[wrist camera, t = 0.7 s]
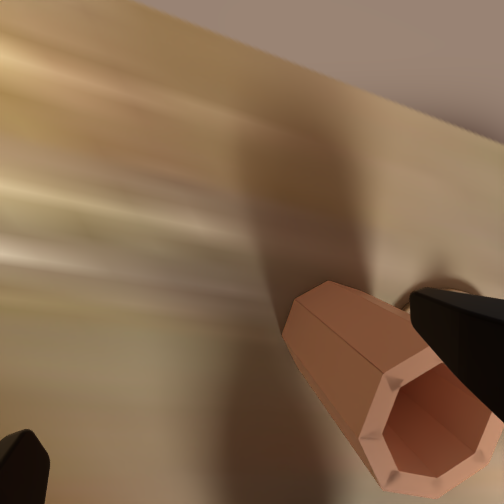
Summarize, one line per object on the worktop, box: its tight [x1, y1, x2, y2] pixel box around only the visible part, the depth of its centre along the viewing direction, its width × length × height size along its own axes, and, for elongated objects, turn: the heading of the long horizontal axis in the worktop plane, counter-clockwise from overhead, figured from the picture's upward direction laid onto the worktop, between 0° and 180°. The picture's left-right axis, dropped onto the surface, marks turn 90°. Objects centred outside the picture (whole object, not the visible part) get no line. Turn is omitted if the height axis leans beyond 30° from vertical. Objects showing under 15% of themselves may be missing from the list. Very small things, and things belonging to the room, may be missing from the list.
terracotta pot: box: [282, 281, 504, 499], centre depth 17 cm, size 6×6×10 cm
